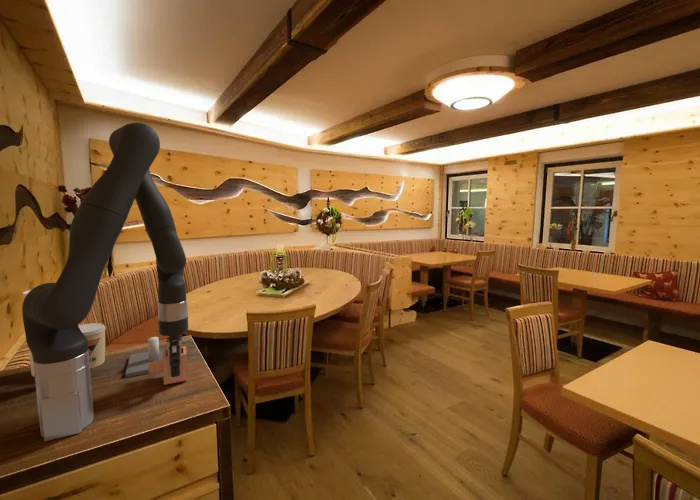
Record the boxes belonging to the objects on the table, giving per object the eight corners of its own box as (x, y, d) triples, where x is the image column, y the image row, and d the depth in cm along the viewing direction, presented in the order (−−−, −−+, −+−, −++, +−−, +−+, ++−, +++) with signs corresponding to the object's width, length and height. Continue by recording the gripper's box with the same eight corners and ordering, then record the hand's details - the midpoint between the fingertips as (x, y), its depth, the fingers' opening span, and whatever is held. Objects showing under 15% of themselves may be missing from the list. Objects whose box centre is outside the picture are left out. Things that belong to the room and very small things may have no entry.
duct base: (179, 367, 101) (178, 342, 100) (125, 377, 95) (123, 351, 94) (178, 350, 113) (177, 327, 112) (130, 358, 107) (129, 334, 106)
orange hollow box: (187, 380, 93) (186, 353, 92) (148, 388, 89) (147, 360, 88) (186, 370, 99) (185, 346, 98) (150, 377, 94) (148, 351, 93)
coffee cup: (64, 373, 96) (61, 335, 95) (77, 359, 105) (74, 324, 103) (102, 368, 100) (99, 331, 98) (111, 355, 108) (109, 321, 107)
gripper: (188, 321, 88) (190, 379, 90) (187, 307, 100) (188, 358, 102) (157, 325, 84) (159, 386, 86) (159, 310, 97) (161, 363, 99)
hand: (175, 370), depth 94 cm, fingers closed on orange hollow box, 6 cm apart
